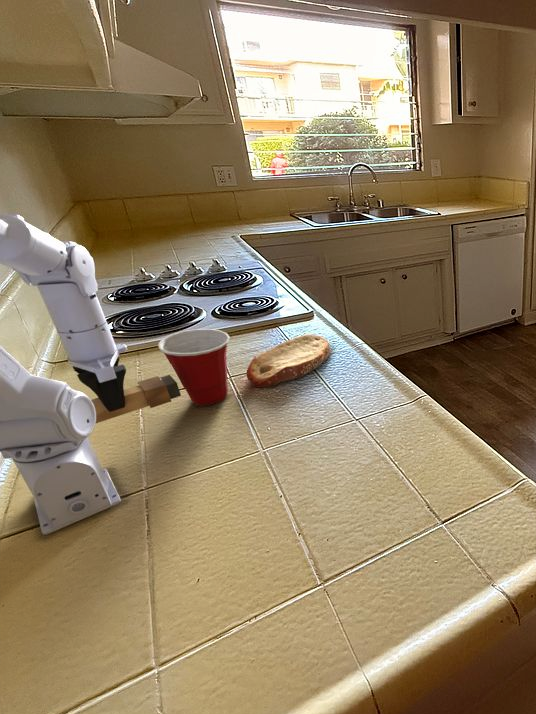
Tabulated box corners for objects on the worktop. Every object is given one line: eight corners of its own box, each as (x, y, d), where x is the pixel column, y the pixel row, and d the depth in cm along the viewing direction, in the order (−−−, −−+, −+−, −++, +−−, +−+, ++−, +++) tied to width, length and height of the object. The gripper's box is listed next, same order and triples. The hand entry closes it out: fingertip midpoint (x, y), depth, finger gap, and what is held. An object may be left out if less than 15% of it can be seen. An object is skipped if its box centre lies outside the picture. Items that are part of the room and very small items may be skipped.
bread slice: (324, 339, 110) (321, 325, 108) (345, 370, 96) (342, 353, 94) (241, 356, 102) (237, 340, 100) (251, 392, 88) (246, 374, 86)
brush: (89, 428, 70) (81, 410, 68) (84, 417, 73) (76, 400, 71) (182, 397, 78) (176, 381, 77) (174, 388, 81) (168, 372, 79)
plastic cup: (230, 412, 81) (212, 350, 76) (165, 414, 81) (143, 352, 75) (252, 382, 91) (238, 325, 86) (195, 384, 90) (177, 327, 85)
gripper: (127, 331, 65) (156, 412, 71) (105, 307, 74) (133, 381, 80) (63, 346, 61) (100, 432, 67) (48, 318, 70) (82, 395, 76)
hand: (114, 405), depth 73 cm, fingers closed on brush, 2 cm apart
